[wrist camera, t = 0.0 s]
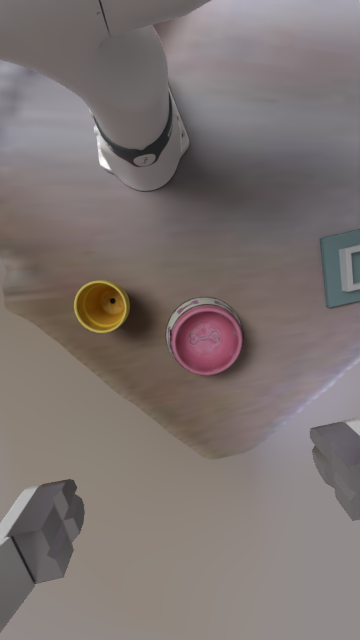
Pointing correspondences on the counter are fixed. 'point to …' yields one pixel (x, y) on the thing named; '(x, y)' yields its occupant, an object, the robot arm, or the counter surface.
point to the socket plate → (341, 268)
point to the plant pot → (101, 306)
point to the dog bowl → (204, 335)
